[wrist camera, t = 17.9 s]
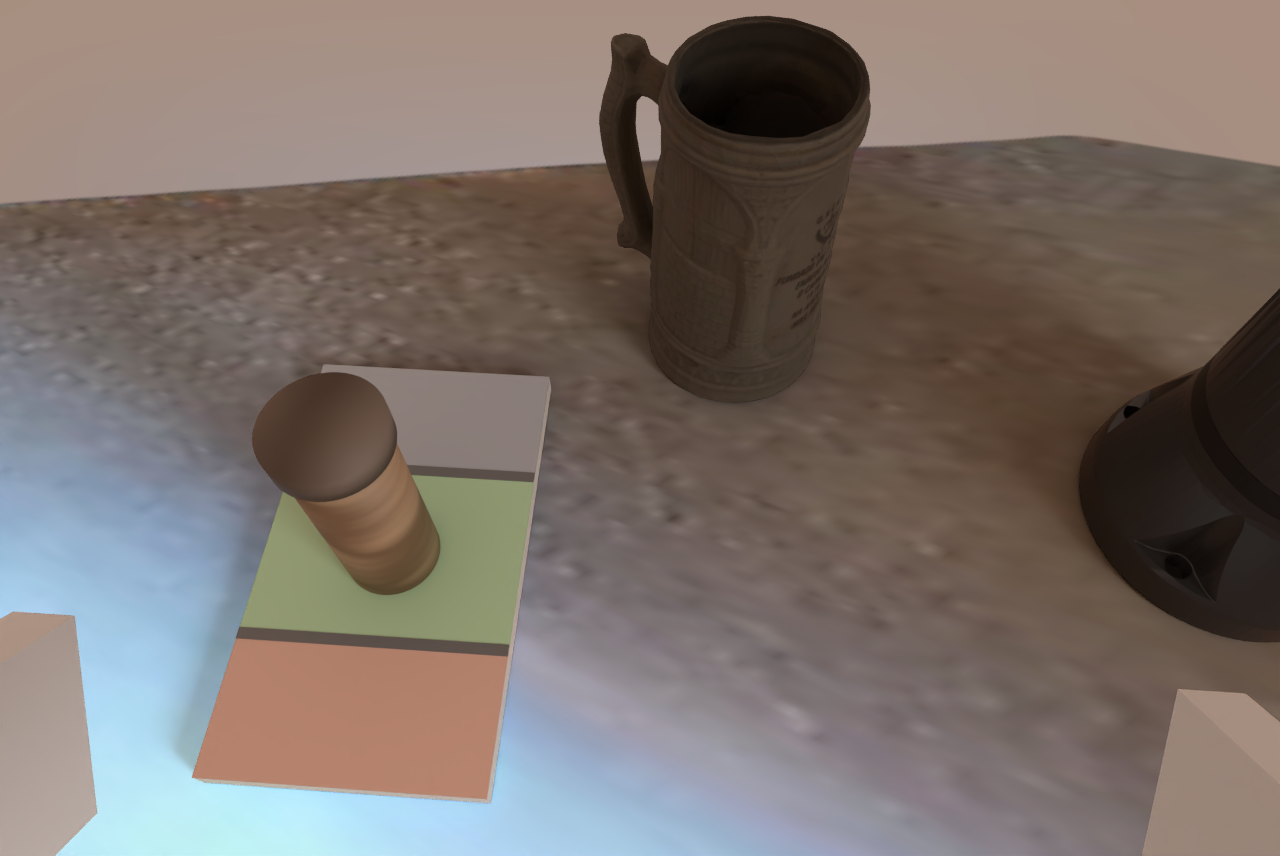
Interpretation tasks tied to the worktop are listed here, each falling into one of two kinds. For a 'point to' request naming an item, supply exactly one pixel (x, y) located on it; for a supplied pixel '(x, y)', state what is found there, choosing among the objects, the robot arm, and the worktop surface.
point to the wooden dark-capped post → (349, 478)
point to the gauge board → (393, 615)
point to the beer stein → (736, 193)
